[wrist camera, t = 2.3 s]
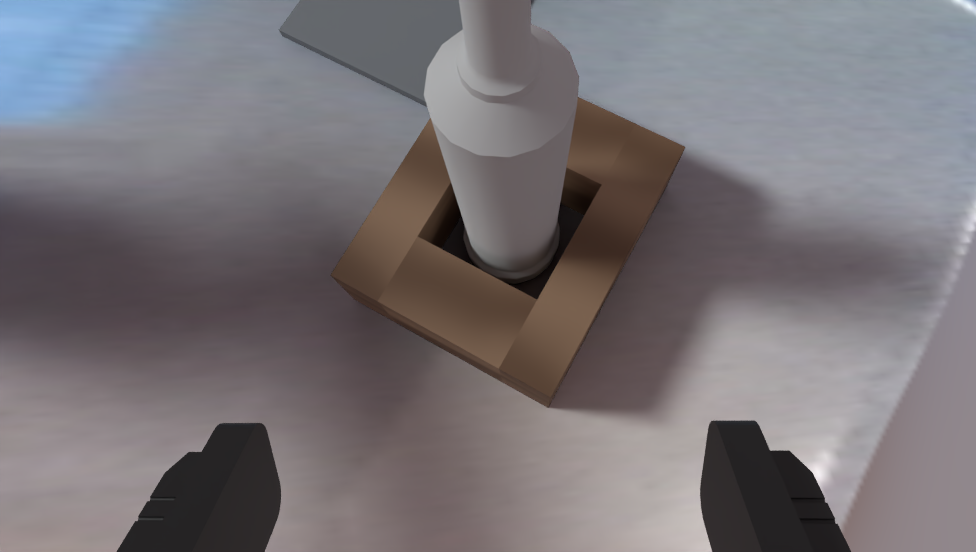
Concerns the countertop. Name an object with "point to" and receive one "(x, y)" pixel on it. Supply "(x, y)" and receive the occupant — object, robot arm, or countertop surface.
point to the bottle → (504, 133)
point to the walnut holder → (487, 300)
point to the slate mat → (377, 37)
